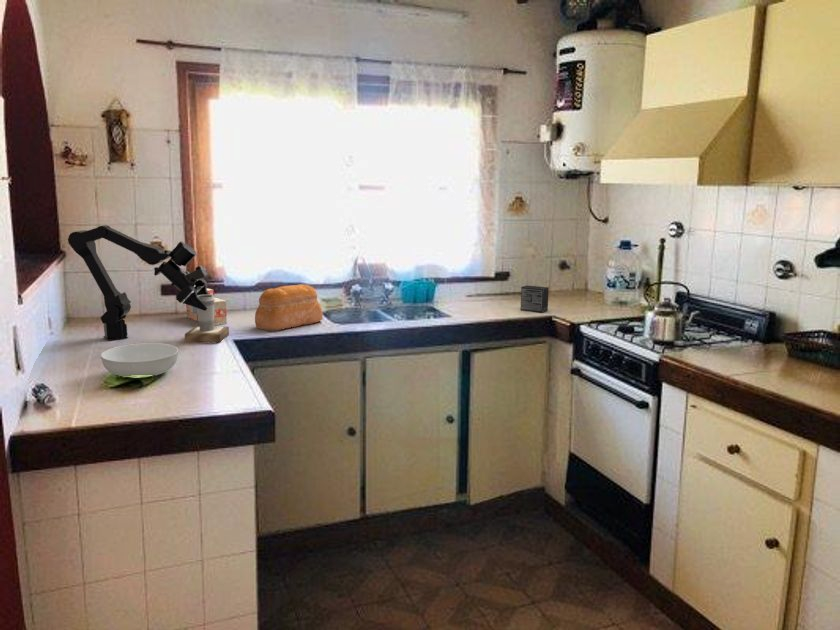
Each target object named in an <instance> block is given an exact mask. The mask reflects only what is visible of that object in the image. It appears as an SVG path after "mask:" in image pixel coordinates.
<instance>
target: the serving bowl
mask: <svg viewBox="0 0 840 630" xmlns="http://www.w3.org/2000/svg"><path fill="white" fill-rule="evenodd" d="M178 358H179V348H178V347H177V346H175V345H173V344H169V343H162V342H161V343H159V342H145V343H144V342H143V343H133V344H131V343H130V344H124V345H120V346H119V345H118V346H115V347H111V348H108V349H106V350H104V351H102V352H101V353H100V360H101V363H102V365H103V367H104V369H105V370H106V371H108V372H109V373H111V374H112V375H114V376H116V375H121V376H131V375H155V376H159V375H161V374H164V373H166V372H168V371H169V370H171V369H172V368H173V367H174V366H175V365H176V364H177V361H178Z"/></svg>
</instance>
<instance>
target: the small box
mask: <svg viewBox="0 0 840 630" xmlns="http://www.w3.org/2000/svg"><path fill="white" fill-rule="evenodd" d="M520 289H521V290H520V311H523V312H530V311H531V313H532V312H533V313H541V314H542V313H545V312H548V310H549V287H548V286H547V287H546V286H538V285H537V286H536V285H527V284H526V285H524V286H521V288H520Z"/></svg>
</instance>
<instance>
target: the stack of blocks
mask: <svg viewBox="0 0 840 630" xmlns="http://www.w3.org/2000/svg"><path fill="white" fill-rule="evenodd" d="M207 292H208V293H209V295H214V296H215V290H214V289H212V288H208V287H207ZM214 298H215V300H214V326H219V325H220V324H221V325H226V324H227V323H228V322H227V300H225V299H222V298H217V297H214ZM185 305H186V318H187V317H188V319H190V318H191V319H190V320H193V319H194V321H196V320H197V321H196V322H199V321H198V314H197V308H196V307H193V306H190V305H187V304H185Z"/></svg>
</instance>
